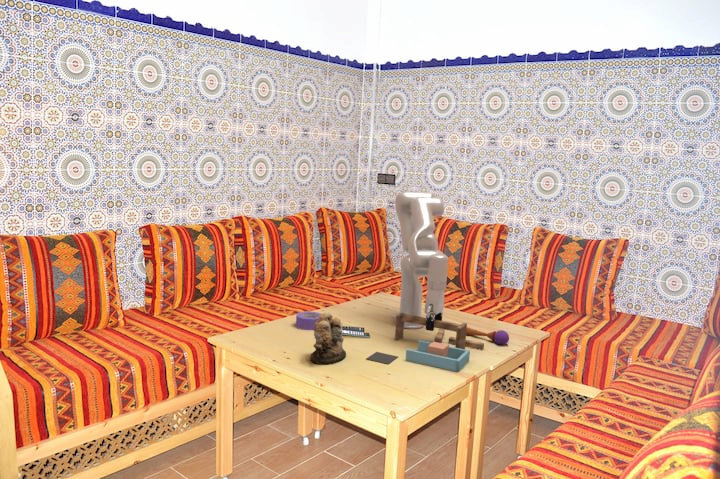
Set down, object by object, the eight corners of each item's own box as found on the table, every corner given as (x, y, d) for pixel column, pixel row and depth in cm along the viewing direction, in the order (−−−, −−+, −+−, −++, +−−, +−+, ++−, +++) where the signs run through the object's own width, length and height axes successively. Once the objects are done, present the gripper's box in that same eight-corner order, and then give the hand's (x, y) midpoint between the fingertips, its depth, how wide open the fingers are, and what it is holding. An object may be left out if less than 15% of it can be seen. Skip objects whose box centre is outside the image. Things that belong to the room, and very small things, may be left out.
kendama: (470, 323, 251) (512, 331, 238) (468, 337, 251) (510, 346, 237) (462, 323, 247) (505, 331, 233) (461, 337, 246) (503, 346, 233)
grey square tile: (365, 359, 212) (366, 358, 212) (376, 352, 220) (376, 351, 220) (388, 364, 208) (388, 363, 208) (398, 357, 216) (398, 356, 216)
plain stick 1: (440, 345, 233) (440, 339, 233) (434, 344, 234) (434, 338, 234) (444, 335, 247) (444, 329, 246) (438, 334, 247) (438, 328, 247)
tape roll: (323, 322, 255) (324, 311, 254) (322, 330, 243) (323, 319, 243) (297, 321, 254) (297, 310, 254) (294, 329, 243) (295, 318, 242)
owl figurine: (331, 368, 201) (333, 321, 199) (301, 362, 206) (302, 316, 203) (352, 353, 218) (354, 309, 215) (324, 347, 222) (325, 305, 220)
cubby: (405, 360, 213) (406, 349, 213) (418, 350, 225) (419, 340, 224) (458, 372, 204) (459, 361, 204) (469, 360, 216) (470, 350, 215)
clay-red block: (426, 361, 213) (428, 345, 212) (432, 356, 219) (433, 341, 218) (442, 364, 211) (443, 349, 210) (447, 360, 216) (448, 344, 215)
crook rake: (393, 340, 234) (394, 315, 233) (401, 335, 242) (402, 311, 240) (458, 354, 222) (460, 328, 221) (464, 349, 229) (467, 323, 228)
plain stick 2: (448, 344, 235) (448, 338, 235) (450, 342, 237) (450, 336, 237) (482, 350, 229) (482, 344, 229) (483, 349, 231) (484, 343, 231)
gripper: (435, 280, 237) (432, 320, 239) (419, 287, 222) (416, 331, 224) (452, 282, 234) (449, 324, 236) (438, 290, 218) (435, 334, 221)
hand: (433, 327), depth 230 cm, fingers open, 8 cm apart
